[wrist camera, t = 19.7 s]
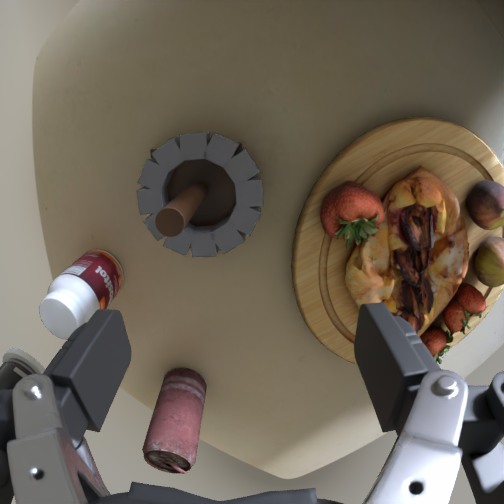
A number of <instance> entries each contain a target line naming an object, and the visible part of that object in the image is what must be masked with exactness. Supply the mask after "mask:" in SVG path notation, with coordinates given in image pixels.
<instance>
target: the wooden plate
mask: <svg viewBox="0 0 504 504" xmlns="http://www.w3.org/2000/svg"><path fill="white" fill-rule="evenodd" d="M291 269H292V281H293V289H294V293H295V296H296V300H297V304H298V307H299V309H300V312H301V314H302V317H303V319H304V321H305V322H306V324H307V326H308V328H309V329H310V331H311V332H312V333H313V334H314V336H315V337H316V338H317V339H318V340H319V341H320V343H322V344H323V345H324V346H325V347H326V348H327V349H329V350H330V351H331V352H333V353H334V354H336V355H338V356H339V357H341V358H343V359H345V360H347V361H349V362H352V363H354V364H357V362H356V359H355V355H354V340H355V334H356V328H357V321H358V315H359V309H360V306H361V305H362V304H369V303H380V302H383V303H385V305H386V306H387V307H388V309H389V310H390V312H391V313H392V315H393V316H400V317H401V318H403V319H404V320H406V321H407V322H409V323H410V324H411V326H412V327H413V329H414V330H415V331H416V334H417V335H418V336H419V337H420V339H421V340H422V343H424V344H425V346H426V347H427V349H428V350H429V352H430V353H431V355H432V356H433V358H434V359H435V361H436V362H437V361H438V363H439V364H441V363H442V360H441V359H439V356H442V355H443V354H444V353H446V352H448V351H449V349H450V348H452V347H453V346H454V345H456V344H457V343H458V342H460V341H461V340H462V339H464V338H465V337H466V336H467V335H468V334H469V333H470V332H471V331H472V330H473V329H474V328H475V327H476V326H477V325H478V324H479V323H480V322H481V321H482V320H483V318H484V317H485V316H486V315H487V314H488V312H489V311H490V309H491V308H492V307H493V305H494V303H495V302H496V300H497V299H498V297H499V295H500V293H501V291H502V289H503V287H504V168H503V167H502V165H501V163H500V161H499V160H498V159H497V157H496V156H495V154H494V153H493V152H492V150H491V149H490V148H489V147H488V146H487V145H486V144H485V143H484V142H483V141H482V140H481V139H480V138H479V137H477V136H476V135H475V134H474V133H472V132H471V131H469V130H467V129H466V128H464V127H462V126H459V125H457V124H454V123H452V122H449V121H446V120H442V119H437V118H432V117H412V118H404V119H399V120H395V121H391V122H388V123H385V124H382V125H380V126H378V127H375V128H373V129H371V130H369V131H368V132H366V133H364V134H363V135H361V136H360V137H359V138H357V139H356V140H354V141H353V142H352V143H350V144H349V145H348V146H347V147H346V148H345V149H343V150H342V151H341V152H340V153H339V154H338V155H337V156H336V157H335V158H334V159H333V160H332V162H331V163H330V164H329V165H328V167H327V168H326V169H325V170H324V172H323V173H322V175H321V176H320V178H319V179H318V180H317V182H316V183H315V185H314V187H313V189H312V190H311V192H310V194H309V196H308V198H307V200H306V202H305V204H304V207H303V210H302V212H301V215H300V217H299V220H298V224H297V227H296V232H295V237H294V243H293V252H292V264H291Z"/></svg>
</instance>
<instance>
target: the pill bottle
mask: <svg viewBox="0 0 504 504" xmlns="http://www.w3.org/2000/svg"><path fill="white" fill-rule="evenodd" d="M123 281H124V274H123V270H122V267H121V265H120V264H119V262H118V261H117V259H116V258H115V257H114V256H113V255H111V254H110V253H108V252H107V251H104V250H98V249H96V250H91V251H89V252H87V253H85V254H84V255H83V256H81V257H80V258H79V259H78V260H77V261H75V262H74V263H73V264H72V265H71V266H69V267H68V268H67V269H66V270H65V271H64V272H62V273H61V274H60V275H59V276H58V277H57V278H56V279H54V280H53V281H52V283H51V284H50V286H49V289H48V295H47V296H46V297H45V298H44V299H43V300H42V302H41V304H40V307H39V313H40V317H41V320H42V322H43V324H44V325H45V327H46V328H47V329H48V330H49V331H50V332H51V333H52V334H54V335H55V336H57V337H59V338H61V339H66V340H67V339H68V338H69V337H70V335H71V334H72V333H73V331H74V330H75V329H77V328H78V327H80V326H81V325H83V324H84V323H85V322H86V323H87V322H88V321H89V319H90V318H91V317H92V315H93V314H94V313H95V312H96V310H98V309H106V308H107V307H108V305H109V304H110V303H111V301H112V300H113V299H114V297H115V296H116V295H117V294H118V292H119V291H120V289H121V288H122V285H123Z"/></svg>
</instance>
